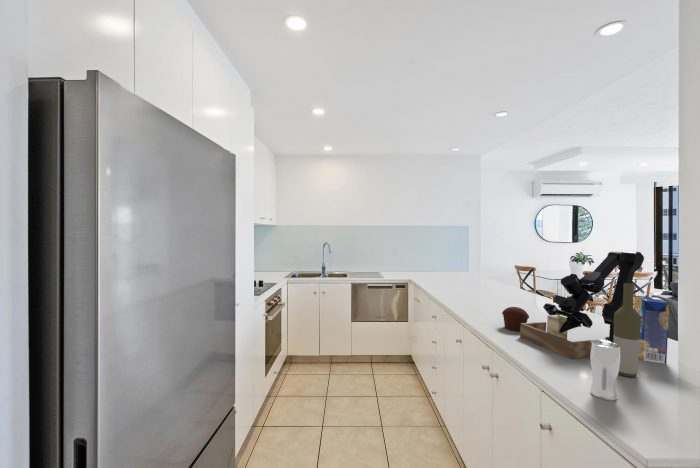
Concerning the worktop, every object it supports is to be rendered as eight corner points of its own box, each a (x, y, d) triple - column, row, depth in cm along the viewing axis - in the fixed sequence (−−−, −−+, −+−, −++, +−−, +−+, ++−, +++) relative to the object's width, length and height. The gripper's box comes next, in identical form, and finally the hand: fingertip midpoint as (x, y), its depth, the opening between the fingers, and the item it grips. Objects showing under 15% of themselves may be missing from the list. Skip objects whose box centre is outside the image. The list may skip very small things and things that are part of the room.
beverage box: (654, 353, 131) (657, 297, 130) (666, 364, 121) (669, 303, 120) (632, 350, 134) (634, 295, 133) (642, 360, 124) (645, 300, 123)
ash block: (556, 343, 140) (557, 314, 140) (566, 347, 135) (568, 318, 135) (546, 344, 139) (547, 315, 138) (556, 348, 134) (558, 318, 134)
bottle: (640, 380, 107) (645, 286, 106) (612, 374, 111) (616, 284, 110) (636, 372, 113) (640, 283, 112) (610, 367, 117) (614, 281, 116)
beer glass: (582, 389, 100) (584, 339, 100) (604, 389, 100) (606, 339, 100) (601, 401, 93) (604, 348, 93) (625, 401, 94) (627, 347, 93)
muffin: (530, 328, 161) (530, 307, 161) (527, 334, 152) (528, 312, 152) (503, 323, 167) (503, 303, 167) (499, 329, 158) (500, 308, 158)
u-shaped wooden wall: (543, 335, 151) (544, 321, 151) (598, 356, 127) (599, 340, 127) (520, 337, 147) (520, 323, 147) (571, 359, 123) (572, 343, 123)
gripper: (547, 284, 146) (525, 311, 144) (588, 293, 129) (564, 323, 126) (560, 301, 149) (539, 328, 146) (602, 312, 131) (579, 342, 128)
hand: (554, 330), depth 136 cm, fingers closed on ash block, 5 cm apart
